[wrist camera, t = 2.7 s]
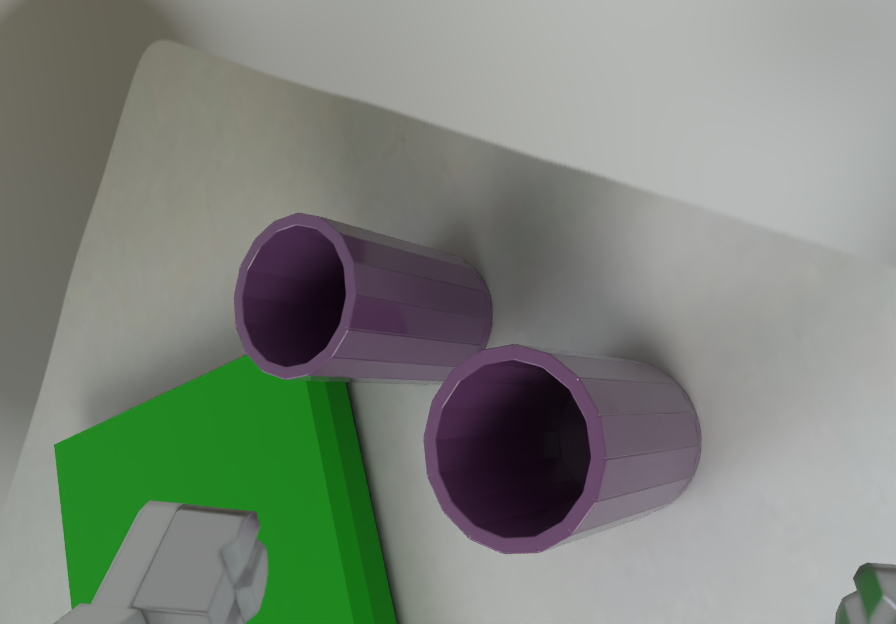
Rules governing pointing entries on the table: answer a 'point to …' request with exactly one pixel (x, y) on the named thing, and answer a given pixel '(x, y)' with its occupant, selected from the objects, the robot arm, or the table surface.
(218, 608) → the robot arm
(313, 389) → the book
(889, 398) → the table surface
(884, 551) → the table surface
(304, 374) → the tumbler
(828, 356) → the table surface
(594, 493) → the plum tumbler
